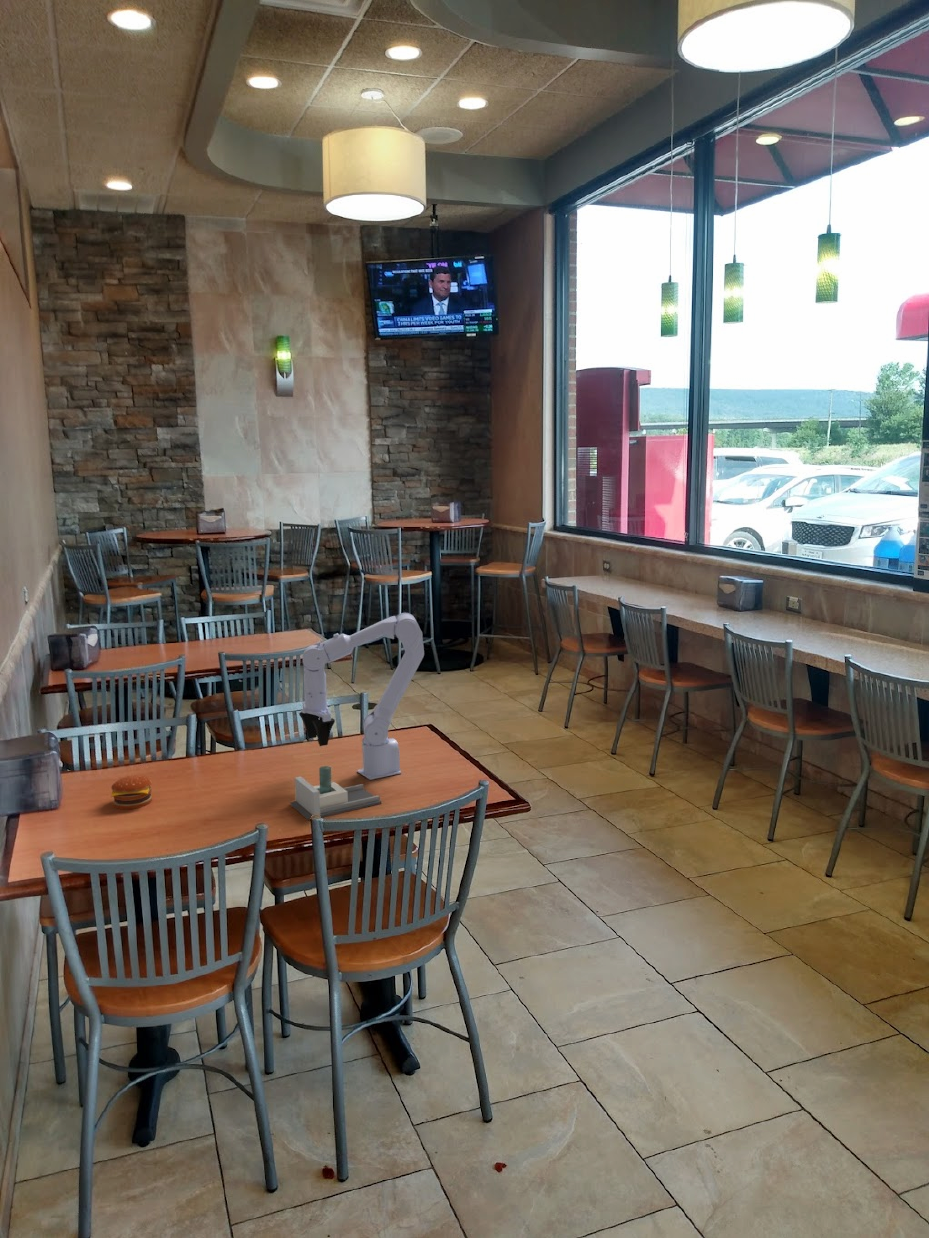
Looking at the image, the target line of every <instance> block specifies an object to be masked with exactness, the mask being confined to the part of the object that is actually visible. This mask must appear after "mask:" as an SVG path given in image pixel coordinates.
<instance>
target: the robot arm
mask: <svg viewBox="0 0 929 1238" xmlns="http://www.w3.org/2000/svg"><path fill="white" fill-rule="evenodd" d="M395 636H396V638H397V639H398V641H399V642H400V643H401V645H402V647H403V649H404V653H403V655H402V657H401V659H400V661H399V663H398V665H397V667H396V668H395V671H394V673H393V674H392V676H391V678H390V680H389V682H388V684H387V685H386V687H385V690H384V691H383V694H382V695H381V697H380V699H379V701H378V702H377V704H376V705H375V706H374V707H373V709H372V711H371V712H370V713H368V714H367V715H366V716H365V717H364V719H363V721H362V728H363V738H362V740H361V745H362V767H363V768H361V769H357V772H358V773H359V774H360V775H361V776H364V777H365V778H366V779H368V780H371V781H372V780H376V779H381V778H385V777H390V776H394V775H399V774H402V771H401V763H400V762H401V761H400V760H401V759H400V758H401V757H400V747H399V743H398V741H397V740H396V739H395V738H389V737H388V736H389V727H390V726H391V724H392V720H393V716H394V714H395V712H396V710H397V708H398V706H399V704H400V702H401V700H402V698H403V697H404V694H405V693H406V691H407V690H408V689H407V688H408V687H409V685H410V683H411V682H412V679H413V677H414V675H415V674H416V672H417V670H418V669H419V666H420V664H421V662H422V661H423V659H424V656H425V650H424V649H425V647H424V639H423V631H422V630H421V628H420V625H419V623H418V621H417V619H416V618H415V617H414V615H413V614H411V613H410V612H402V613H399V614H397V615H393V616H389V617H386V618H384V619H383V620H380V621H378V622H375V623H374V624H371V625H369V626H367V627H365V628H364V629H361V630H358V631H357V632H354V633H353V634H350V635H348V634H345V633H340V634H339V633H338V632H337V633H334V634H333V637H332V638H329V639H327V640H324V641H322V642H321V641H316V644H311V645H309V646H307V647H306V648H305V649H304V651H303V653H302V665H303V666H304V667H303V673H304V674H303V688H304V689H303V690H304V701H302V709H300V712H298V714H299V716H300V718H301V720H302V722H303V725H304V728H305V731H306V734H307V738H308V739H310V740H311V739H313V738H317V742H318V745H319V746H320V747H324V746H328V744H329V740H330V734H331V731H332V728H333V726H334V724H335V722H336V721H335V718H333V717H331V716H332V714H331V713H330V711H329V706H328V697H327V696H328V693H327V675H326V672H325V665H326V664H330V663H333V662H335V661H337V660H340V659H342V658H346V656H349V655H352V653H353V651H354V649H355V647H358V646H361V645H363V644H366V643H369V642H372V641H375V640H377V639H379V638H388V639H392V640H394V639H395Z"/></svg>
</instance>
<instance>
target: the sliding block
mask: <svg viewBox="0 0 929 1238" xmlns="http://www.w3.org/2000/svg"><path fill="white" fill-rule="evenodd" d="M312 786H313V787H315V788H316V789H317V790H318V791H319V796H320V808H325V807H329V806H334V805H338V804H342V803H347V802H348V793H347V791H346V790H345V789H343V788H344V787H342V786H341V785H340V784H338V783H336V782H335V781H331V792H329V793H324V794H320V784H318V785H312Z"/></svg>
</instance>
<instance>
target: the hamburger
mask: <svg viewBox="0 0 929 1238" xmlns="http://www.w3.org/2000/svg"><path fill="white" fill-rule="evenodd" d="M152 782H153V781H152V780H150V779H149V778H148V777H147V776H145V775H144V776H143V775H137V774H136V775H126V776H125V777H121V778H119V779H117V780H116V781H115V782H114V783H113V784H112V785H111V787H110V788H111V793H110V794H111V795H110V798H113V802H112V803H113V806H114V807H115V808H117V809H118V810H119V809H120V810H133V809H139V808H141V807H145V806H147V805H149V804H151V803H152V801H153V796H152V788H151V786H152V785H153V783H152Z"/></svg>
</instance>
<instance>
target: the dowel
mask: <svg viewBox="0 0 929 1238" xmlns="http://www.w3.org/2000/svg"><path fill="white" fill-rule="evenodd" d="M318 770H319V785H320V794H324V793H329V792H331V782H332V766H329V765H325V766H320V767H319V769H318Z"/></svg>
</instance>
